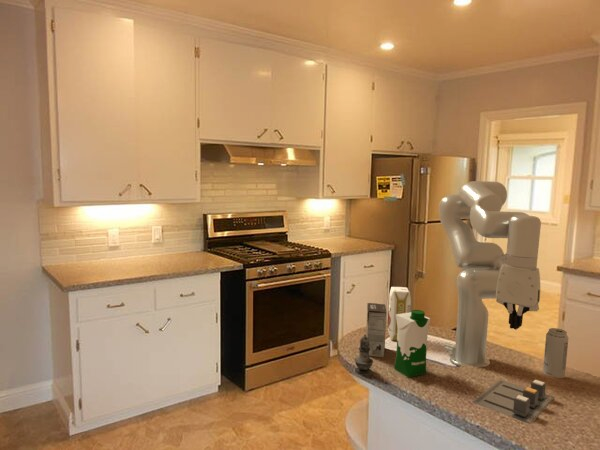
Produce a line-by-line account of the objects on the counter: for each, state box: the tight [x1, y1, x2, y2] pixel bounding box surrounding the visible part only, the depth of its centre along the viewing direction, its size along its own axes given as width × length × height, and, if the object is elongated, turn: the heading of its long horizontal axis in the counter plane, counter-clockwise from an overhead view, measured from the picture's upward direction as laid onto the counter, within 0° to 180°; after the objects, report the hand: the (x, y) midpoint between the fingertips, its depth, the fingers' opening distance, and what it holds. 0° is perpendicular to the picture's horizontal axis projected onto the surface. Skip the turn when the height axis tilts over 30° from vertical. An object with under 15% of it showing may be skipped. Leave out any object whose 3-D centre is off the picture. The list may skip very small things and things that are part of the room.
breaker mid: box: [523, 386, 539, 408], centre depth 121 cm, size 3×4×4 cm
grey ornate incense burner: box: [354, 334, 374, 376], centre depth 142 cm, size 6×6×12 cm
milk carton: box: [394, 309, 432, 378], centre depth 142 cm, size 9×9×20 cm
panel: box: [471, 379, 556, 425], centre depth 124 cm, size 15×20×1 cm
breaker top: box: [530, 379, 547, 400], centre depth 125 cm, size 3×4×4 cm
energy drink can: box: [542, 327, 569, 379], centre depth 141 cm, size 6×6×15 cm
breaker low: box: [512, 395, 530, 417], centre depth 116 cm, size 3×4×4 cm
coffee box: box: [365, 302, 387, 358], centre depth 158 cm, size 9×6×16 cm
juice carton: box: [387, 286, 412, 341], centre depth 172 cm, size 8×9×19 cm
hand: (514, 327), depth 123 cm, fingers closed
